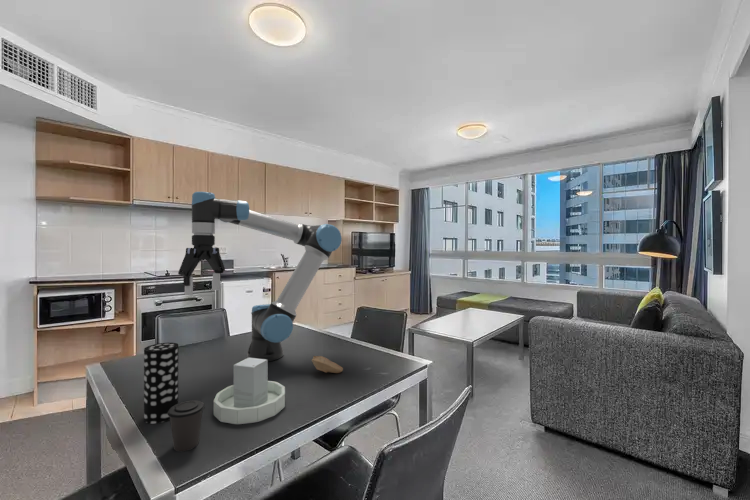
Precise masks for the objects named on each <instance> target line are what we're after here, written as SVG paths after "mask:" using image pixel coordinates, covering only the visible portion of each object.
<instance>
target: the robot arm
mask: <svg viewBox="0 0 750 500" xmlns="http://www.w3.org/2000/svg"><path fill="white" fill-rule="evenodd" d="M215 195H216V194H215V193H213V192H208V191H195V192H193V193H192V195H191V197H192V198H191V234H192V235H191V245H192V246H193V247H186V248H185V255H184V257H183V260H182V262H181V264H180V267H179V270H178V273H177V275H179V276H180V277H183V286H184V296H193V294H194V291H193V290H194V277H193V276H192V275H193V272H194V271H195V269H196V268H197V266H198V265H199V263H200V262H201V261H207V262H208V264H209V266H210V268H211V269H212V270H213V273H212V291H220V290H221V281H222V279H221V278H222V277H221V276H222V274H223V273H224V272H225V270H226V268H225V265H224V263H223V260H222V257H221V254H220V253H221V252H220V248H219V247H213V246H215V244H216V238H215V237H216V236H215V235H214V234H216V223H215V220H219V221H221V222H223V223H230V224H233V225H238V226H241V227H245V228H249V229H251V230H254V231H259V232H262V233H265V234H268V235H272V236H276V237H279V238H281V239H282V238H283V239H286V240H289V241H293V243H294V244H295V245H296V244H297V245H299V246H301V247H302V246H303V247H304V250H305V252H304V253H303V256H302V257H301V259H300V260H299V261H298V263H297V265H296V267H295V269H294V271H293V272H292V274H291V275H290V277H289V279H288V281H287V282H286V284H285V286H284V287H283V289H282V290H281V292H280V295H279V296H278V298H277V300H275V301H272V302H270V304H269V303H268V304H267V303H266V304H258V305H253V306H252V308H251V312H250V314H251V341H250V344H249V347H248V350H247V355H246V357H247V358H257V359H266V360H268V362H271V361H277V360H278V359H281V358H282V357H283V356H284V349H283V345H282V342H284V341H286V340H287V339H288V338H289V337H290V336H291V335H292V333H293V329H294V321H295V319H296V318H297V312H296V310H297V308H298V306H299V305H300V303H301V301H302V299H303V297H304V295H305V294H306V292H307V290H308V289H309V287H310V285H311V283H312V281H313V280H314V278H315V276H316V274H317V273H318V271H319V269H320V267H321V265H322V264H323V262H324V261H326V260H327V261H328V260H329V258H330V256H331V255H332V253H333V252H334V251H337V249H339V248H340V246H341V244H342V233H341V232H340V230H339V228H338V227H337V226H335V225H333V224H330V223H324V224H319V225H311V224H310V225H307V224H303V223H299V224H296V223H294V222H293V223H292V222H289V221H286V220H284V219H281V218H280V219H279V218H277V217H274V216H270V215H267V214H263V213H260V212H257V211H254V210H251V209H250V204H249V203H248V201H245V200H240V199H238V200H237V199H222V198H220V199H218V198H216V196H215ZM247 358H246V359H247Z"/></svg>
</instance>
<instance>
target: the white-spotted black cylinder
mask: <svg viewBox="0 0 750 500" xmlns="http://www.w3.org/2000/svg"><path fill="white" fill-rule="evenodd" d="M178 403H179V344H178V343H176V342H161V343H160V342H159V343H156V344H151V345H148V346H146V347H144V348H143V421H144V423H146V424H150V425H151V424H152V425H153V424H161V423H164V422H167V421H168V422H169V421H170V416H168V414H167V413H168V411H169V409H170V408H171V407H172V406H174V405H176V404H178Z"/></svg>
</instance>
